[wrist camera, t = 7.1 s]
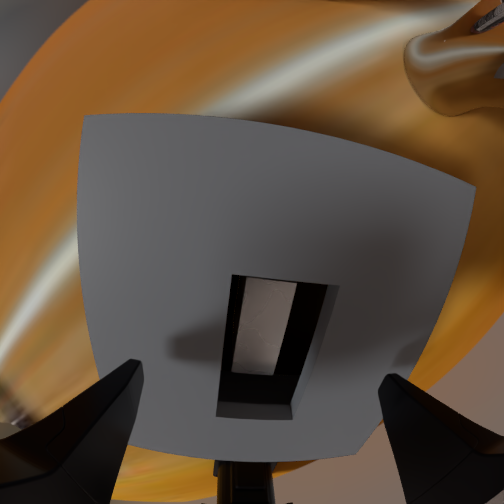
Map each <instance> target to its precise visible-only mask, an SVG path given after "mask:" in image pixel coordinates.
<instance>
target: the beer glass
mask: <svg viewBox="0 0 504 504" xmlns="http://www.w3.org/2000/svg"><path fill="white" fill-rule="evenodd" d="M404 65H405V69H406V73H407V75H408V78H409V80H410V82H411V84H412V86H413V88H414V90H415V91H416V93H417V94H418V96H419V97H420V98H421V99H422V100H423V102H424V103H425V104H426V105H427V106H429V107H430V108H431V109H432V110H434V111H435V112H437V113H439V114H442V115H445V116H456V115H460V114H462V113H465V112H467V111H470V110H472V109H476V108H480V107H497V108H504V0H481V1H480V2H479V3H477V4H476V5H475V6H474V7H473V8H471V9H470V10H469V11H468V12H467V13H466V14H464V15H463V16H462V17H461V18H460V19H458V20H457V21H456V22H455V23H453V24H452V25H450V26H448V27H446V28H444V29H442V30H439V31H435V32H431V33H426V34H421V35H418V36H415V37H413V38H412V39H410V40H409V42H408V43H407V44H406V47H405V50H404Z"/></svg>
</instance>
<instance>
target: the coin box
mask: <svg viewBox="0 0 504 504" xmlns="http://www.w3.org/2000/svg"><path fill="white" fill-rule="evenodd" d="M475 192H476V187H475V186H473V185H471V184H469V183H466V182H464V181H462V180H460V179H458V178H455V177H453V176H451V175H448V174H446V173H444V172H441V171H439V170H436V169H434V168H431V167H429V166H426V165H423V164H421V163H418V162H415V161H413V160H410V159H407V158H404V157H401V156H398V155H395V154H392V153H389V152H386V151H383V150H380V149H376V148H373V147H370V146H366V145H363V144H359V143H356V142H352V141H348V140H345V139H341V138H337V137H333V136H328V135H324V134H320V133H315V132H311V131H306V130H301V129H296V128H291V127H286V126H280V125H274V124H268V123H262V122H255V121H248V120H240V119H232V118H222V117H212V116H200V115H185V114H159V113H124V114H100V115H86V116H84V122H83V129H82V136H81V145H80V155H79V168H78V186H77V235H78V254H79V266H80V277H81V286H82V294H83V301H84V308H85V314H86V320H87V325H88V331H89V336H90V341H91V345H92V350H93V354H94V358H95V363H96V367H97V370H98V374H99V378H100V379H102V378H103V377H105V376H106V375H107V374H109V373H110V372H112V371H113V370H114V369H116V368H117V367H119V366H120V365H121V364H123V363H124V362H126V361H127V360H128V359H131V358H132V359H137V360H140V361H142V364H143V372H144V384H143V389H142V393H141V398H140V403H139V407H138V412H137V417H136V420H135V424H134V427H133V430H132V433H131V435H130V438H129V441H128V445H132V446H136V447H140V448H145V449H149V450H154V451H159V452H164V453H169V454H175V455H181V456H188V457H195V458H204V459H213V460H225V461H243V462H286V461H304V460H316V459H324V458H334V457H340V456H348V455H354V454H356V453H357V452H358V451H359V449H360V448H361V447H362V446H363V444H364V443H365V442H366V440H367V439H368V438H369V437H370V435H371V434H372V432H373V431H374V430H375V428H376V427H377V426H378V424H379V423H380V421H381V420H382V419H383V416H382V411H381V406H380V401H379V397H378V388H379V386H380V384H381V383H382V381H383V379H384V377H385V376H386V375H387V374H390V373H397V374H398V375H400V376H401V377H403V378H404V379H406V380H407V379H408V378H409V376H410V374H411V372H412V370H413V369H414V367H415V365H416V363H417V361H418V359H419V357H420V356H421V354H422V352H423V350H424V348H425V346H426V344H427V342H428V339H429V337H430V335H431V333H432V331H433V329H434V326H435V324H436V322H437V320H438V317H439V315H440V313H441V310H442V308H443V305H444V303H445V300H446V298H447V295H448V292H449V290H450V287H451V284H452V281H453V278H454V275H455V272H456V269H457V266H458V263H459V260H460V256H461V253H462V249H463V246H464V242H465V238H466V235H467V231H468V226H469V222H470V218H471V213H472V208H473V203H474V198H475ZM232 274H235V275H243V276H252V277H261V278H270V279H279V280H289V281H298V282H308V283H318V284H328V287H327V291H326V295H325V298H324V302H323V305H322V309H321V312H320V316H319V319H318V323H317V326H316V329H315V333H314V336H313V339H312V342H311V345H310V349H309V352H308V355H307V358H306V361H305V364H304V367H303V370H302V373H301V375H280V374H273V375H260V374H247V373H236V372H231V371H223V370H221V362H222V353H223V344H224V335H225V327H226V318H227V310H228V301H229V293H230V285H231V277H232Z"/></svg>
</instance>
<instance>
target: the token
mask: <svg viewBox="0 0 504 504" xmlns="http://www.w3.org/2000/svg"><path fill="white" fill-rule="evenodd" d="M296 285H297V282H296V281H289V280H279V279H270V278H261V277H252V276H243V275H239V281H238V288H237V295H236V301H235V308H234V315H233V335H232V370H231V372H236V373H247V374H260V375H273V373H274V370H275V366H276V363H277V359H278V355H279V352H280V348H281V344H282V341H283V337H284V333H285V329H286V326H287V322H288V318H289V314H290V310H291V306H292V302H293V298H294V294H295V289H296Z"/></svg>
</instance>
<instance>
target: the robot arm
mask: <svg viewBox="0 0 504 504" xmlns="http://www.w3.org/2000/svg"><path fill="white" fill-rule="evenodd" d="M143 384H144V372H143V364H142V361H140V360H137V359H132V358H131V359H128V360H127V361H126V362H124V363H123V364H121V365H120V366H119V367H117V368H116V369H114V370H113V371H112V372H110V373H109V374H107V375H106V376H105V377H103V378H102V379H100V380H99V381H98V382H96V383H95V384H93V385H92V386H90V387H89V388H88V389H86V390H85V391H83V392H82V393H81V394H79V395H78V396H76V397H75V398H73V399H72V400H71V401H69V402H68V403H66V404H65V405H63V407H60V408H59V409H57V410H56V411H55V412H53V413H51V414H50V415H48V416H47V417H45V418H44V419H42V420H40V421H38V422H36V423H35V424H33V425H31V426H29V427H27V428H25V429H23V430H21V431H19V432H17V433H15V434H13V435H11V436H9V437H6V438H3V439H0V504H110V500H111V497H112V493H113V490H114V486H115V483H116V480H117V476H118V473H119V470H120V466H121V463H122V460H123V457H124V454H125V451H126V448H127V445H128V441H129V438H130V435H131V433H132V430H133V427H134V424H135V420H136V417H137V412H138V407H139V403H140V398H141V393H142V389H143ZM378 397H379V401H380V406H381V411H382V416H383V420H384V424H385V428H386V431H387V435H388V438H389V441H390V444H391V447H392V451H393V454H394V458H395V461H396V465H397V468H398V472H399V476H400V480H401V483H402V487H403V491H404V495H405V499H406V503H407V504H504V436H501V435H498V434H496V433H494V432H492V431H490V430H488V429H486V428H484V427H482V426H480V425H478V424H476V423H474V422H473V421H471V420H469V419H467V418H466V417H464V416H463V415H461V414H458V412H456V411H454V410H453V409H451V408H450V407H448V406H447V405H445V404H443V403H442V402H440V401H439V400H437V399H435V398H434V397H432V396H431V395H429V394H428V393H426V392H425V391H423V390H421V389H420V388H418V387H417V386H415V385H414V384H412V383H411V382H409V381H408V380H406V379H404V378H403V377H401V376H400V375H398V374H397V373H390V374H387V375H386V376H385V377H384V379H383V381H382V383H381V384H380V386H379V388H378ZM276 464H277V462H243V461H225V460H215V462H214V471H213V476H215V477H218V482H217V504H275V496H274V487H273V478H272V472H273V470H274V468H275V466H276ZM202 504H203V503H202ZM287 504H293V503H287Z"/></svg>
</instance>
